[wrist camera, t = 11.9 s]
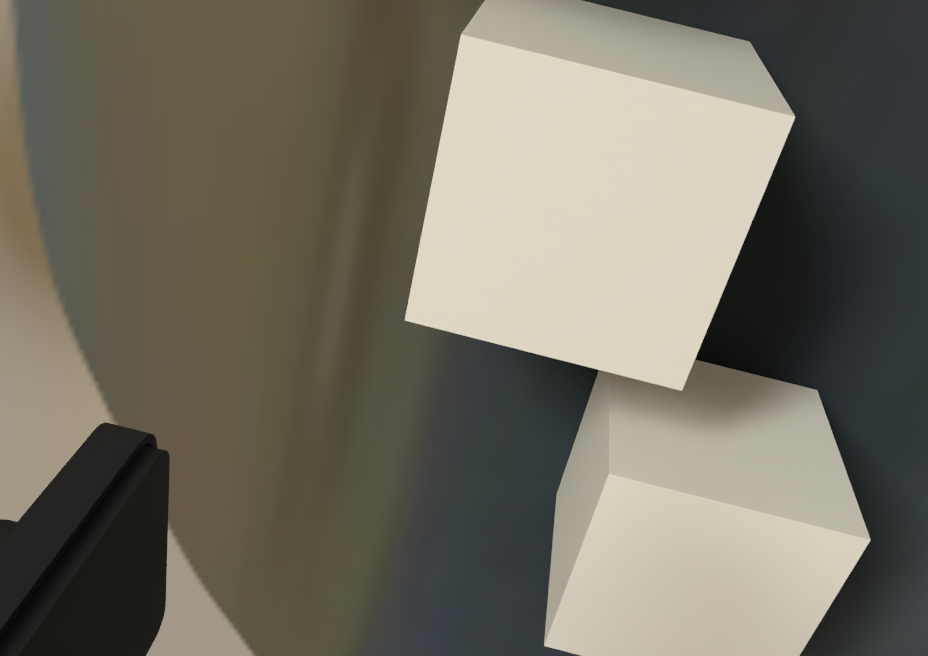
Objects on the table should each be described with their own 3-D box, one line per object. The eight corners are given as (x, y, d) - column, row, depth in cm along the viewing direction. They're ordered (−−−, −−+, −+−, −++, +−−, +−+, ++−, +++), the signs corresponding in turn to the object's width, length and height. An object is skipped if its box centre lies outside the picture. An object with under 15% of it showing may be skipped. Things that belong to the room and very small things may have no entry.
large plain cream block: (749, 41, 24) (795, 116, 18) (667, 265, 27) (681, 391, 21) (499, -21, 24) (461, 34, 18) (449, 211, 28) (404, 320, 22)
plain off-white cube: (817, 390, 29) (870, 540, 23) (740, 540, 32) (769, 704, 26) (609, 338, 29) (608, 473, 23) (556, 494, 33) (544, 645, 27)
